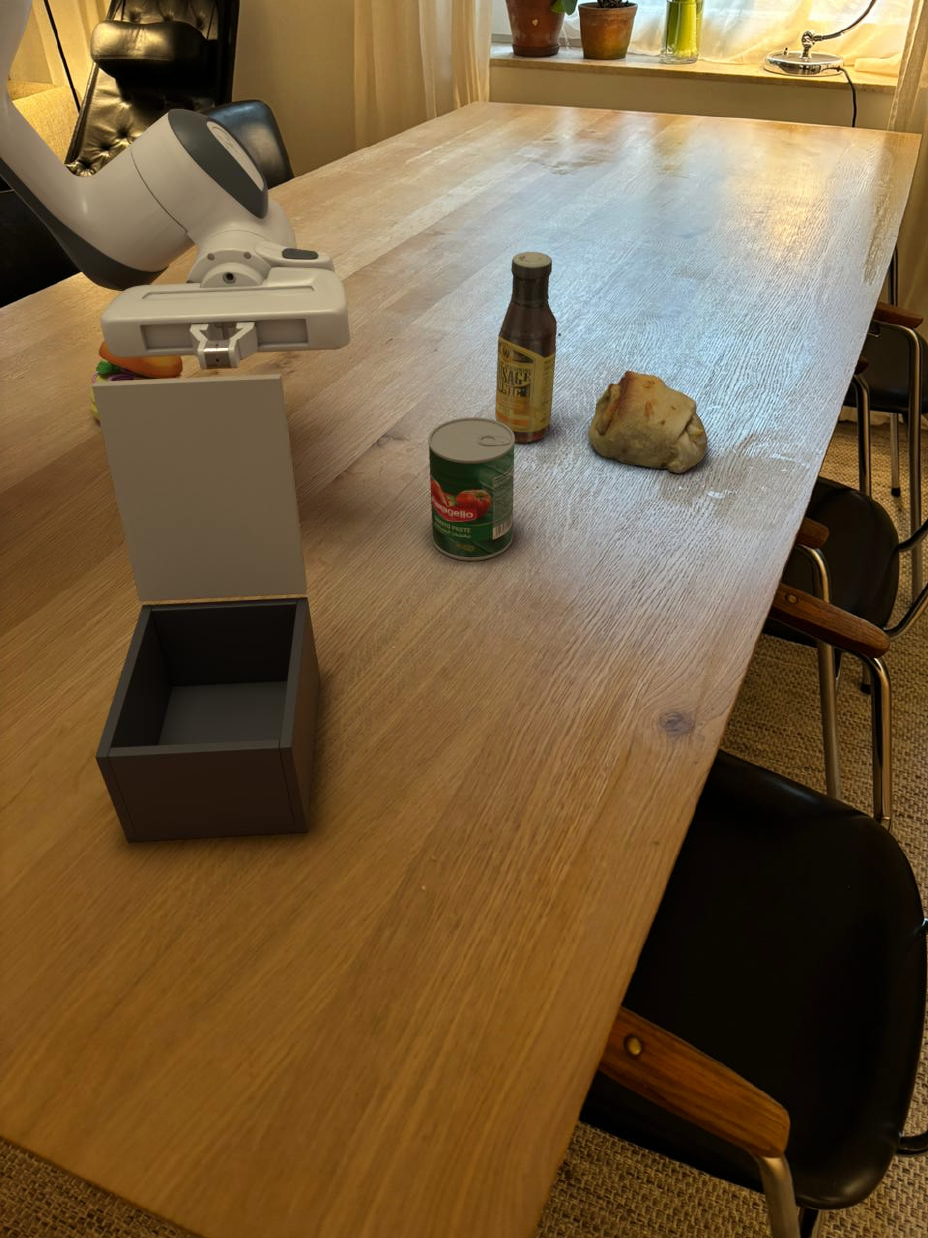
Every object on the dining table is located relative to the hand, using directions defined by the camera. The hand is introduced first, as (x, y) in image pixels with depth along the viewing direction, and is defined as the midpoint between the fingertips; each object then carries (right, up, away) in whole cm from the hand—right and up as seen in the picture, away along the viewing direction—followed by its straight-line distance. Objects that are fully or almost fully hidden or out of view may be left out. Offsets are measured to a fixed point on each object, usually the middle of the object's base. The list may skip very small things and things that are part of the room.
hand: (217, 360), depth 78 cm
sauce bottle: (+26, +1, +35) cm, 44 cm away
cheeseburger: (-19, +5, +41) cm, 46 cm away
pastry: (+39, -1, +32) cm, 51 cm away
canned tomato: (+20, -12, +19) cm, 31 cm away
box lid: (+1, -11, -7) cm, 13 cm away
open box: (+2, -31, -2) cm, 31 cm away
